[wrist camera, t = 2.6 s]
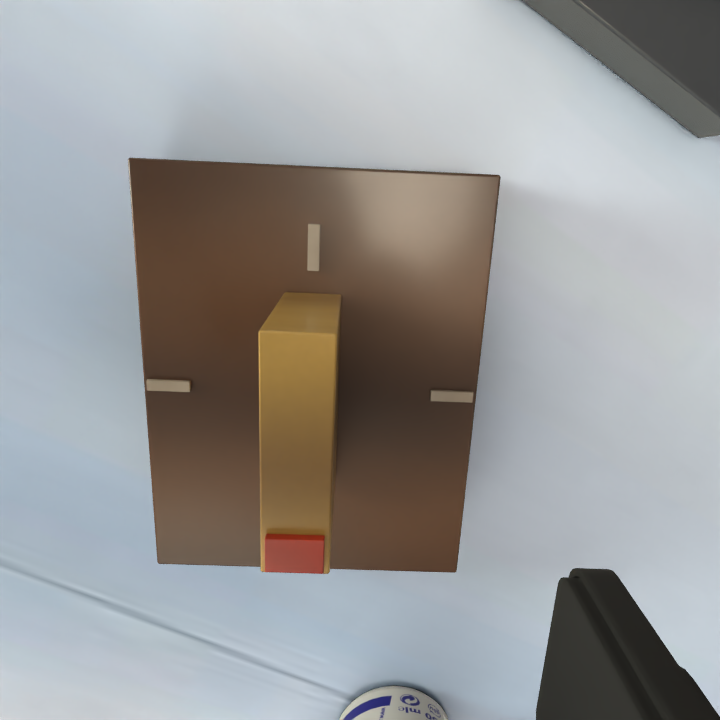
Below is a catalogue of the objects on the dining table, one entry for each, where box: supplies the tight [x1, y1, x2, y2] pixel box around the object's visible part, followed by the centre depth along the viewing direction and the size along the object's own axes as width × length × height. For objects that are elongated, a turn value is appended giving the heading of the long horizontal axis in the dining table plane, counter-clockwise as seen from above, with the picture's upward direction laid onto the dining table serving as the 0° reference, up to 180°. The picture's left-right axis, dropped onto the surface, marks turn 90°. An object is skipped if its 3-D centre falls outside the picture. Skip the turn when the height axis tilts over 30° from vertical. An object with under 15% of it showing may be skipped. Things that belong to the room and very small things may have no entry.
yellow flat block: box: [258, 292, 342, 574], centre depth 16 cm, size 6×2×5 cm, turn 177°
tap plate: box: [128, 158, 500, 572], centre depth 20 cm, size 14×11×3 cm
